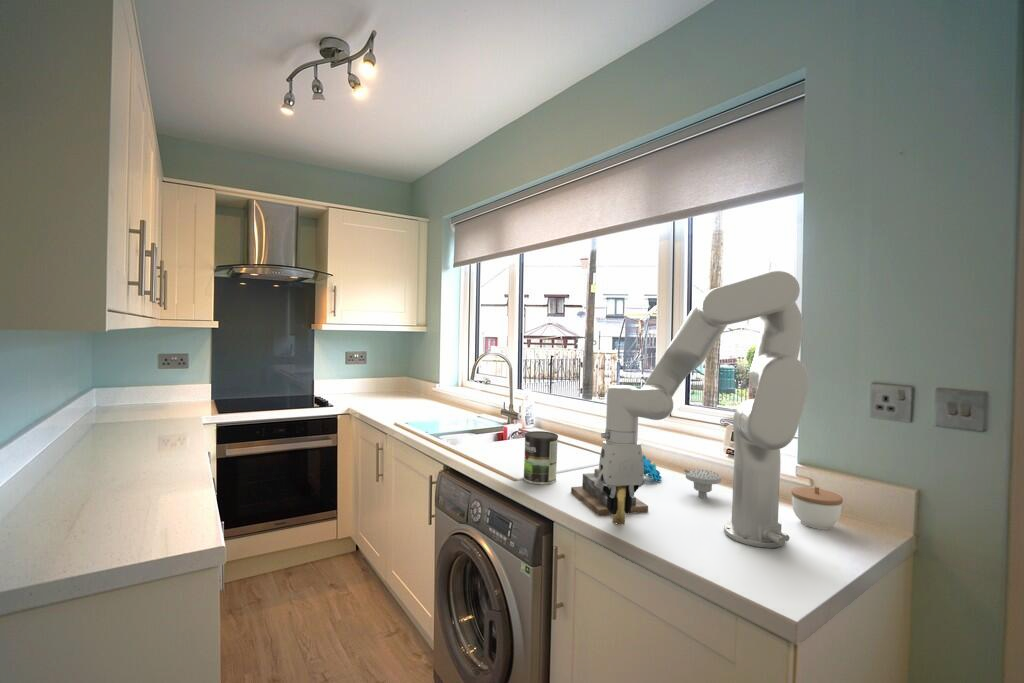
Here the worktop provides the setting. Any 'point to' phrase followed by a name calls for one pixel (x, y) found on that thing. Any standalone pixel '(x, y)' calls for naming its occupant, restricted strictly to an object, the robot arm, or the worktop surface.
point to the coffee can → (540, 457)
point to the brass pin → (620, 505)
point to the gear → (651, 469)
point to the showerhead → (703, 480)
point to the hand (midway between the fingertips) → (619, 511)
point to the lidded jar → (816, 506)
